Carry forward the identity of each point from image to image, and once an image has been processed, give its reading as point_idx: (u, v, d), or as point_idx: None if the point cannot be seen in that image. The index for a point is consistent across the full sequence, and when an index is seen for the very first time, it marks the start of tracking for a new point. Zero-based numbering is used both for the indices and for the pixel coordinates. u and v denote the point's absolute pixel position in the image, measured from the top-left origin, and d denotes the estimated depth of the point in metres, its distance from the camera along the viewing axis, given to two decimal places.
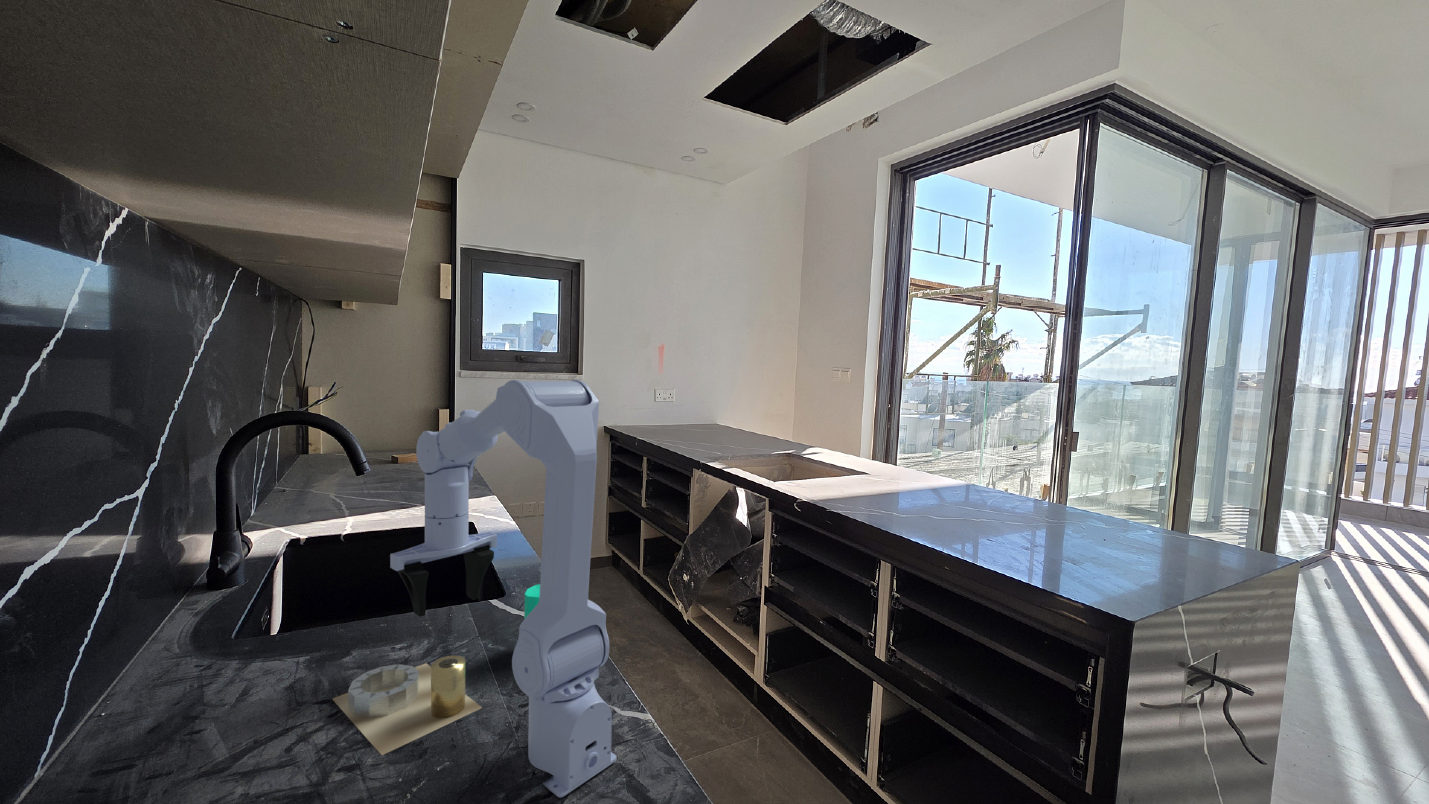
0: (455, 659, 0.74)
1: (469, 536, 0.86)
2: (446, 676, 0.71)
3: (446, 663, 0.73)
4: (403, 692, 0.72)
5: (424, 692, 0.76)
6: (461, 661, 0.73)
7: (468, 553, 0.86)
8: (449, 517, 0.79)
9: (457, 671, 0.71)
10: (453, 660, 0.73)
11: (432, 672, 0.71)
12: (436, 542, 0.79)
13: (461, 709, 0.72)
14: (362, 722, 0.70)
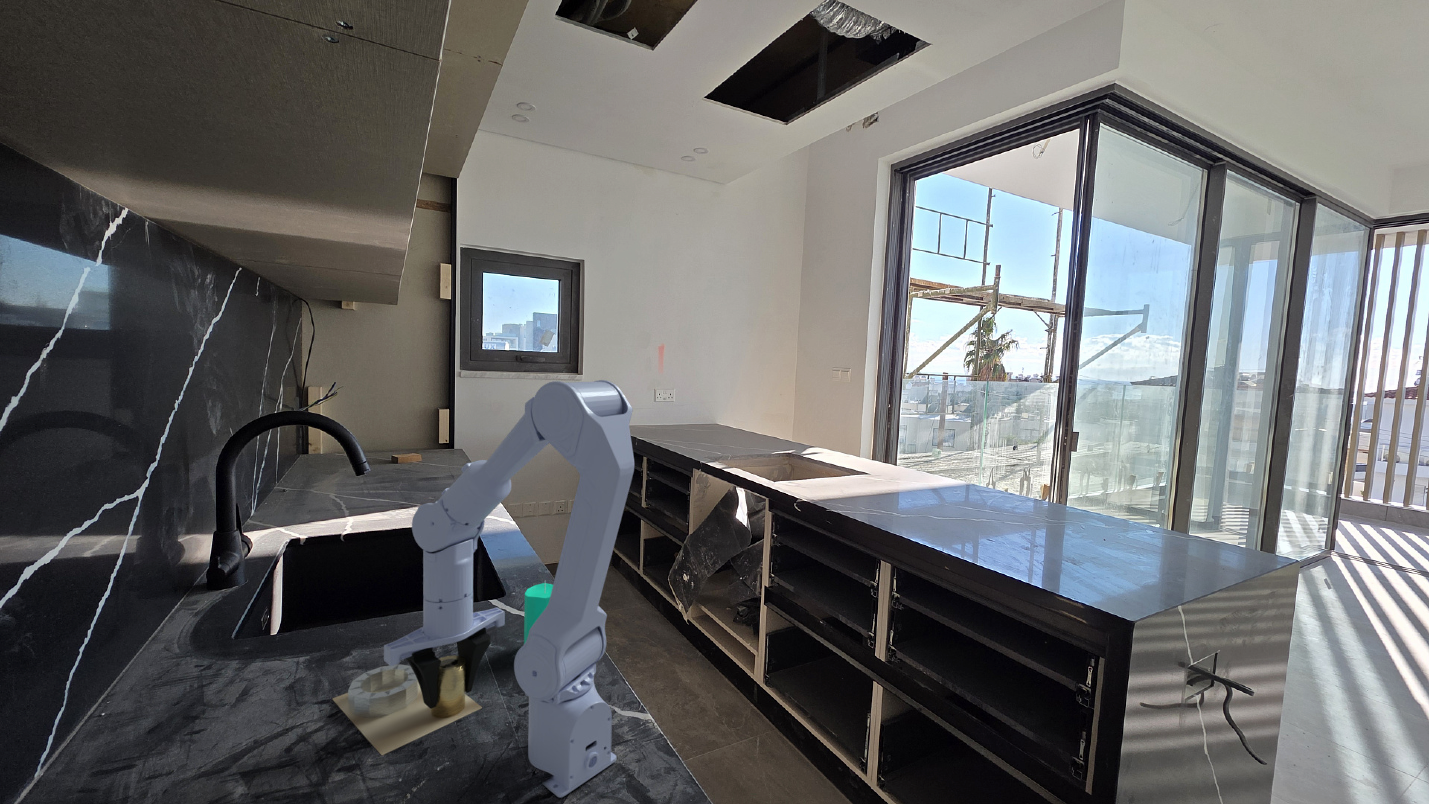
0: (455, 659, 0.74)
1: (473, 614, 0.76)
2: (446, 676, 0.71)
3: (446, 663, 0.73)
4: (403, 692, 0.72)
5: None
6: (461, 661, 0.73)
7: None
8: (451, 600, 0.70)
9: (457, 671, 0.71)
10: (453, 660, 0.73)
11: None
12: (436, 629, 0.69)
13: (461, 709, 0.72)
14: (362, 722, 0.70)
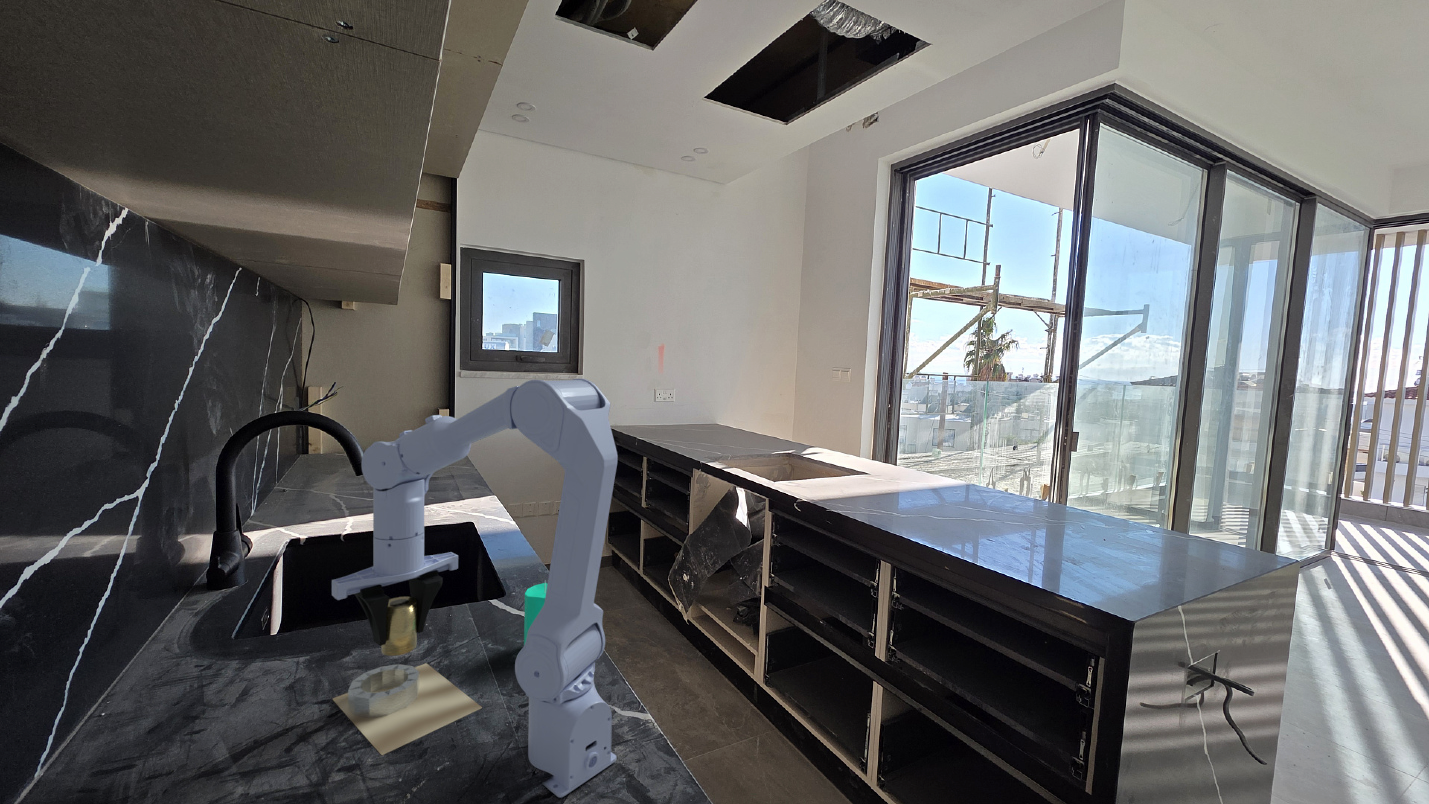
0: (407, 599, 0.74)
1: (427, 557, 0.77)
2: (395, 614, 0.71)
3: (397, 602, 0.73)
4: (403, 692, 0.72)
5: (424, 692, 0.76)
6: (412, 601, 0.74)
7: (413, 579, 0.75)
8: (400, 538, 0.70)
9: (407, 610, 0.72)
10: (405, 600, 0.74)
11: None
12: (385, 566, 0.70)
13: (412, 648, 0.73)
14: (362, 722, 0.70)
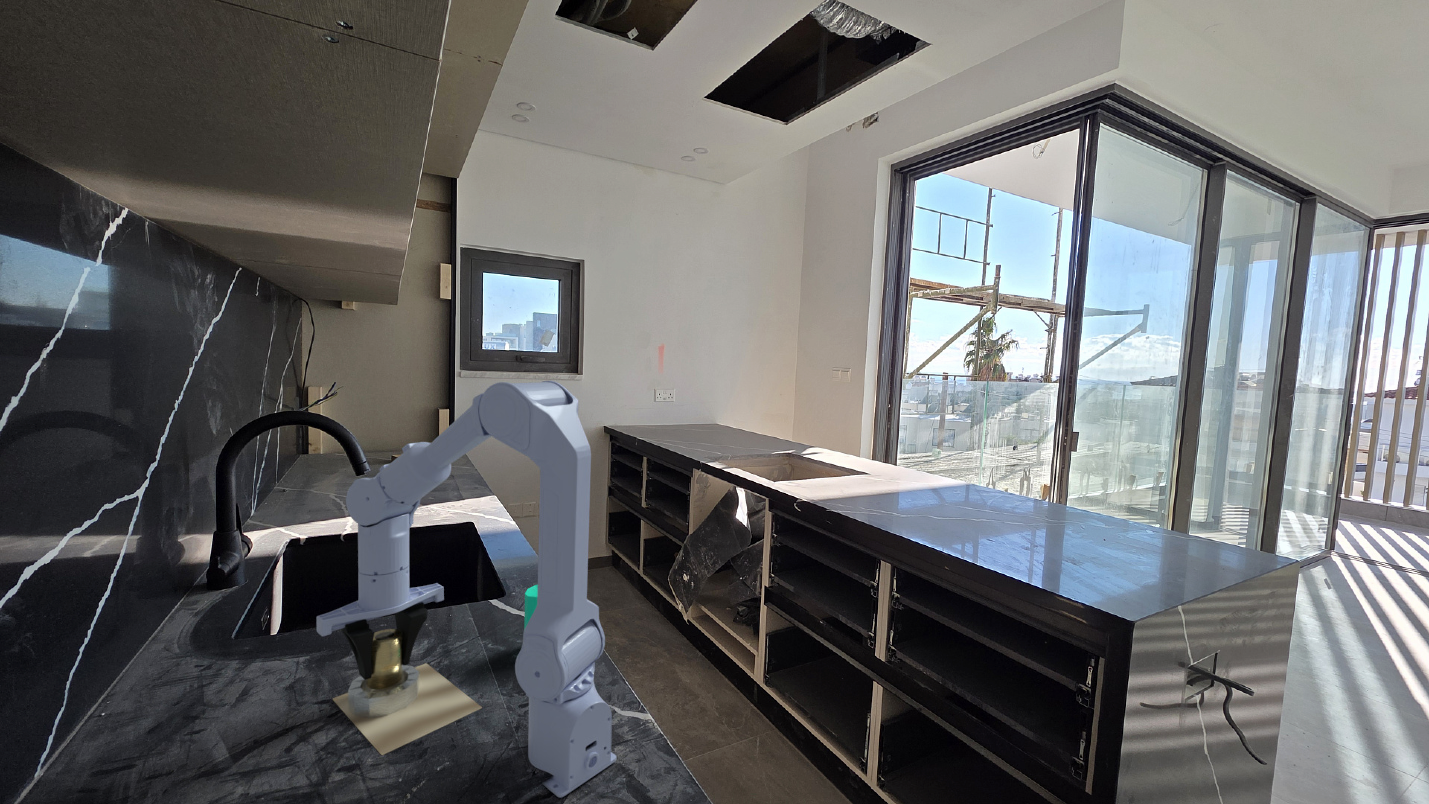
0: (392, 632, 0.75)
1: (412, 589, 0.78)
2: (380, 648, 0.72)
3: (382, 635, 0.74)
4: (403, 692, 0.72)
5: (424, 692, 0.76)
6: (397, 634, 0.75)
7: (399, 612, 0.76)
8: (385, 573, 0.71)
9: (392, 643, 0.73)
10: (390, 633, 0.75)
11: None
12: (369, 601, 0.71)
13: (397, 681, 0.74)
14: (362, 722, 0.70)
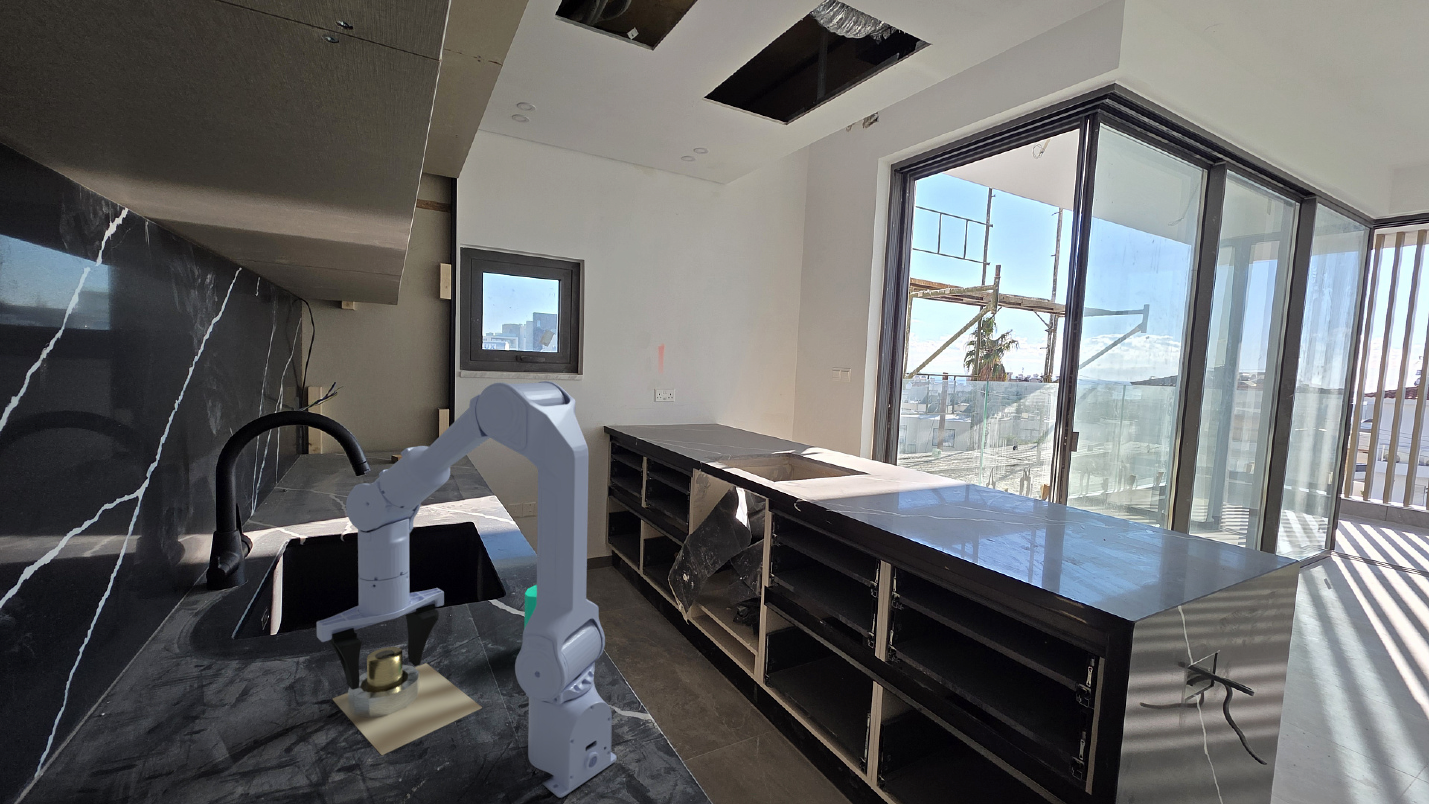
0: (393, 650, 0.75)
1: (412, 594, 0.78)
2: (381, 667, 0.72)
3: (382, 654, 0.74)
4: (403, 692, 0.72)
5: (424, 692, 0.76)
6: (398, 652, 0.75)
7: (410, 613, 0.77)
8: (385, 578, 0.71)
9: (392, 662, 0.73)
10: (391, 651, 0.75)
11: (368, 663, 0.73)
12: (369, 607, 0.71)
13: None
14: (362, 722, 0.70)
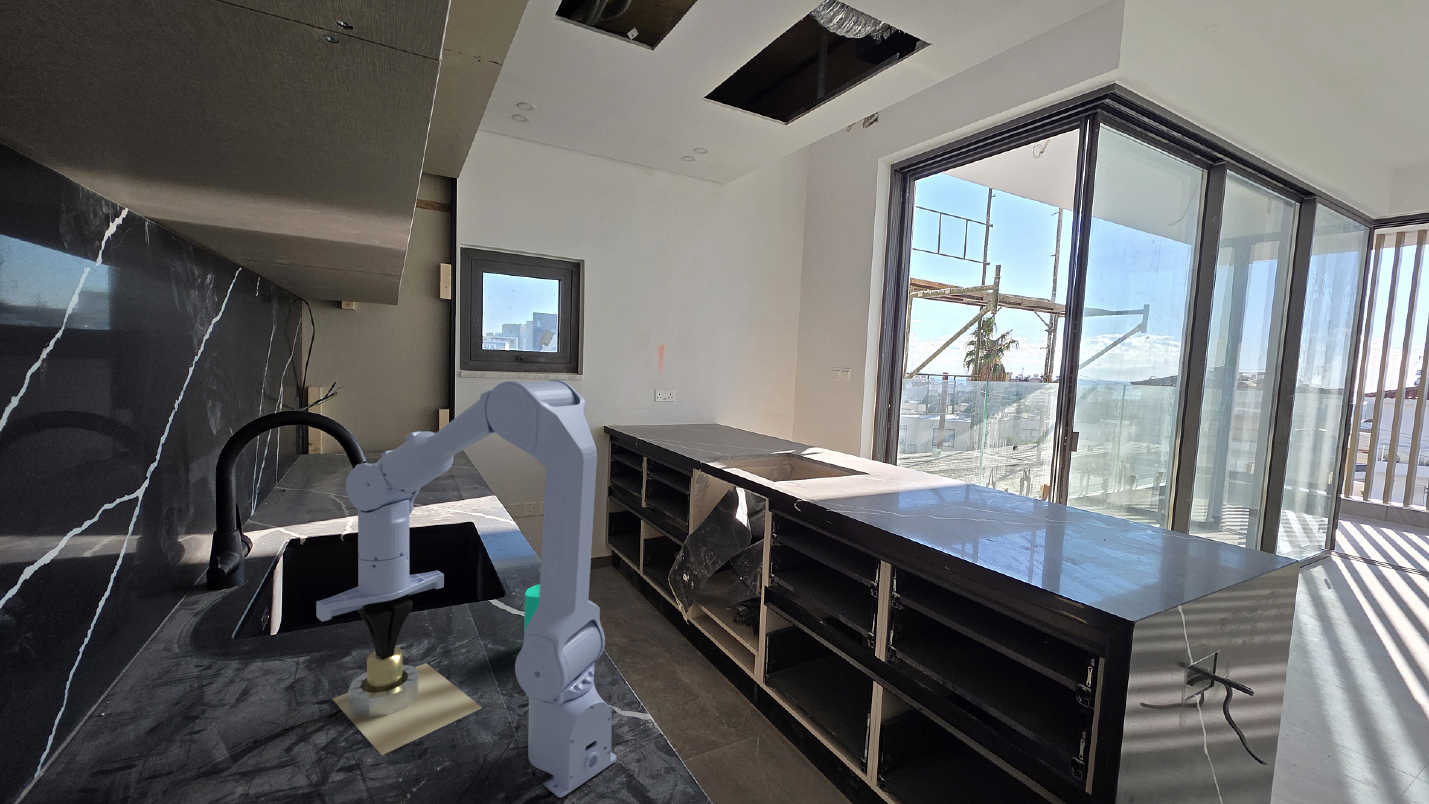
0: None
1: (412, 576, 0.78)
2: (381, 667, 0.72)
3: None
4: (403, 692, 0.72)
5: (424, 692, 0.76)
6: (398, 652, 0.75)
7: None
8: (385, 559, 0.71)
9: (392, 662, 0.73)
10: None
11: (368, 663, 0.73)
12: (369, 587, 0.71)
13: None
14: (362, 722, 0.70)
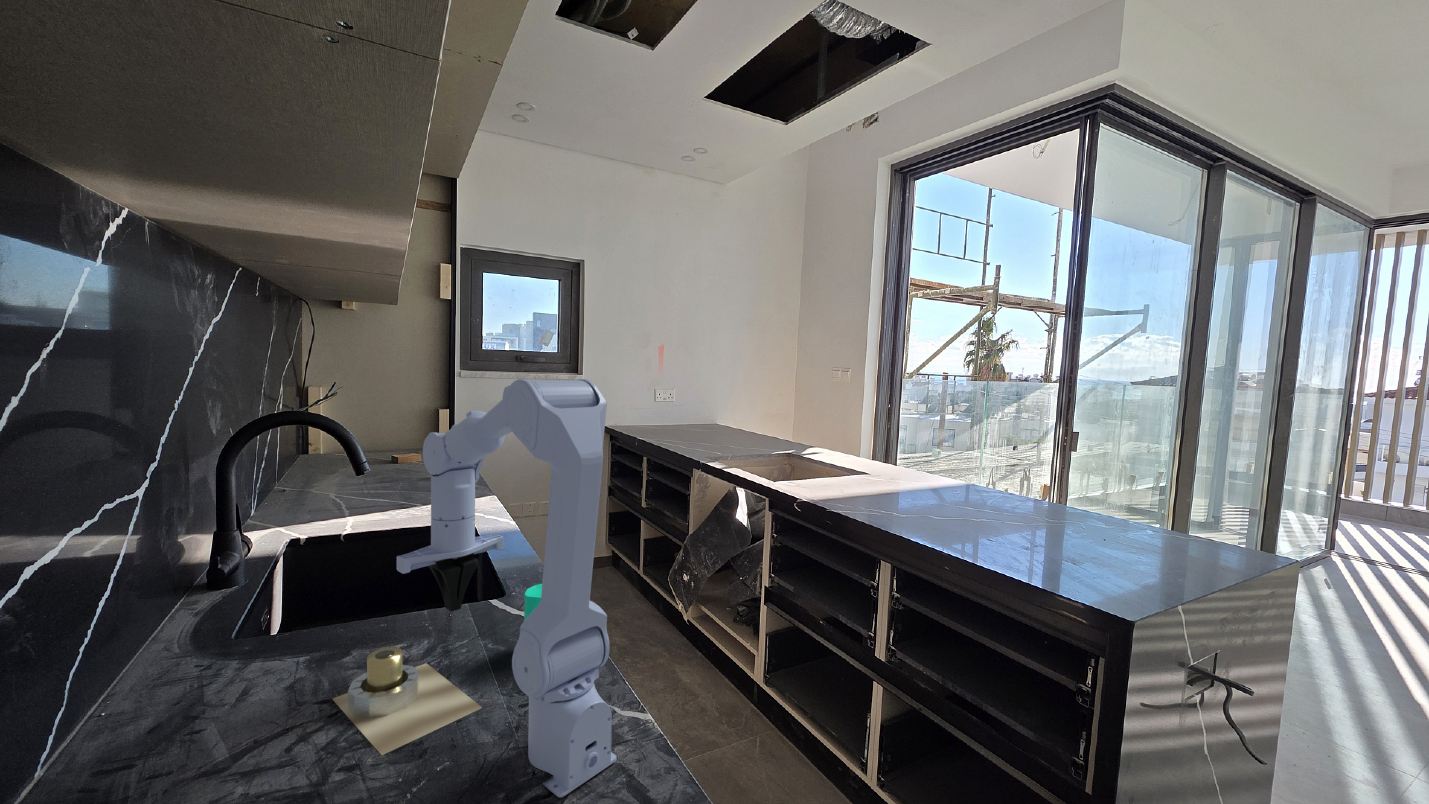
0: (393, 650, 0.75)
1: (475, 538, 0.85)
2: (381, 667, 0.72)
3: (382, 654, 0.74)
4: (403, 692, 0.72)
5: (424, 692, 0.76)
6: (398, 652, 0.75)
7: None
8: (456, 519, 0.79)
9: (392, 662, 0.73)
10: (391, 651, 0.75)
11: (368, 663, 0.73)
12: (442, 544, 0.78)
13: None
14: (362, 722, 0.70)
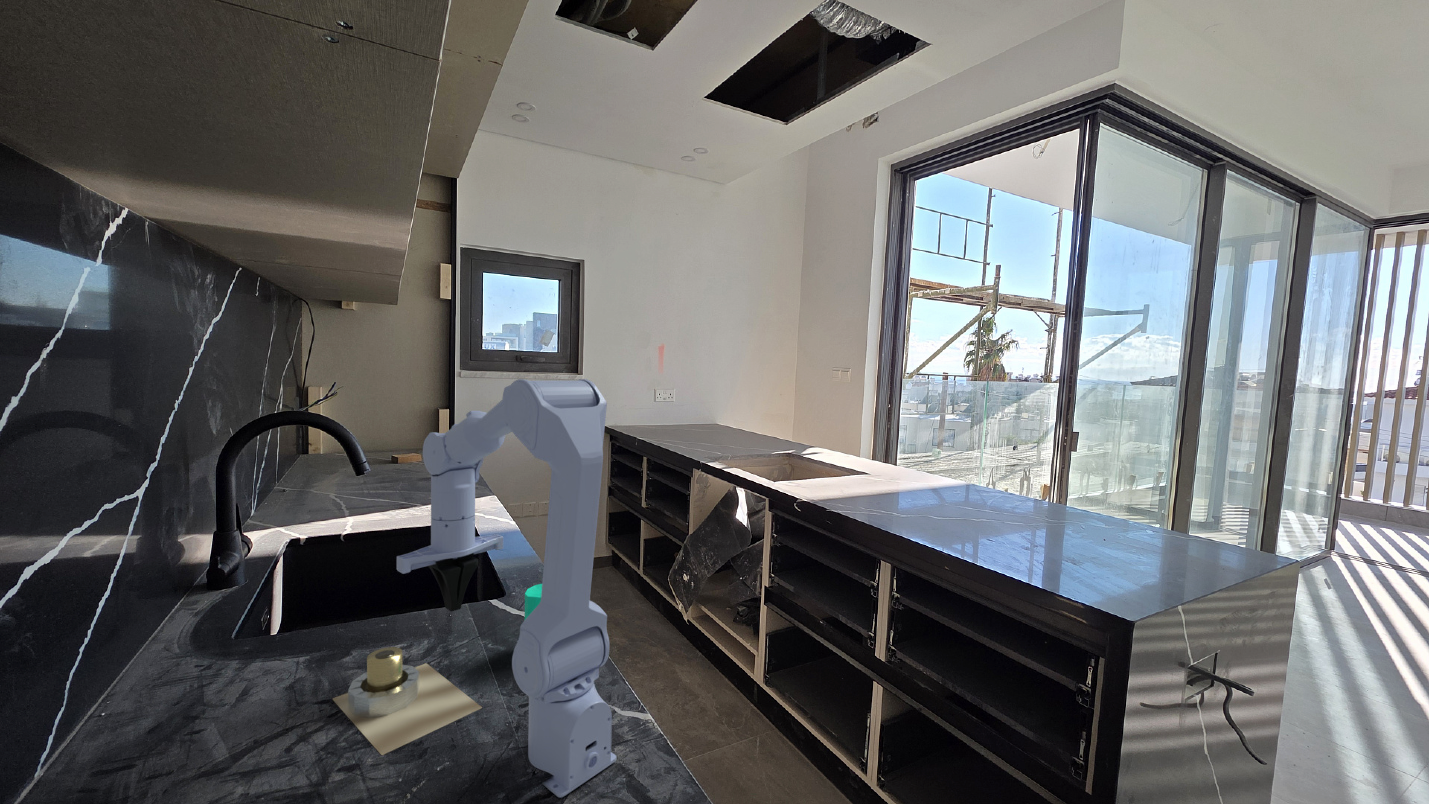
0: (393, 650, 0.75)
1: (475, 538, 0.85)
2: (381, 667, 0.72)
3: (382, 654, 0.74)
4: (403, 692, 0.72)
5: (424, 692, 0.76)
6: (398, 652, 0.75)
7: None
8: (456, 519, 0.79)
9: (392, 662, 0.73)
10: (391, 651, 0.75)
11: (368, 663, 0.73)
12: (442, 544, 0.78)
13: None
14: (362, 722, 0.70)
